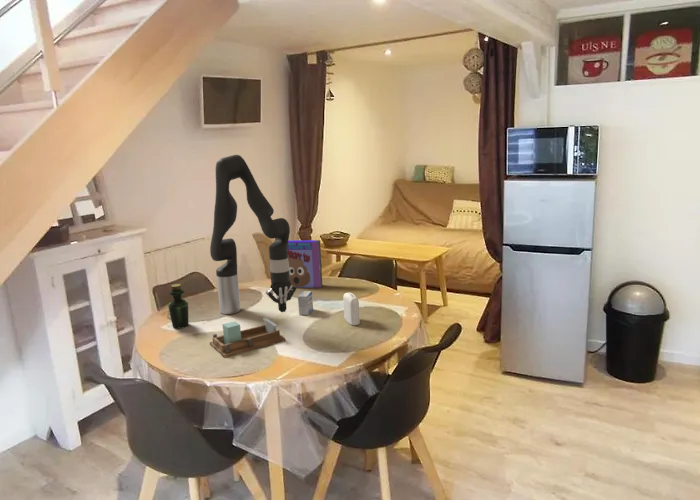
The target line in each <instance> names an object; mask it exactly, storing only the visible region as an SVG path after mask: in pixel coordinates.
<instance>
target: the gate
mask: <svg viewBox="0 0 700 500" xmlns="http://www.w3.org/2000/svg"><path fill="white" fill-rule="evenodd" d="M262 321H263V322H264V325H265V328H266V331H267V332H268V333H269V332H273V331H277V328H278V326H279V325H278V324H276V323H275V322H273V321H271V320H269V319H268V318H267V317H264V318H262Z"/></svg>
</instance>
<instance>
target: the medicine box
mask: <svg viewBox="0 0 700 500" xmlns="http://www.w3.org/2000/svg"><path fill="white" fill-rule="evenodd" d="M313 301H314V300H313V291H309V290H305V291H301V293H300V294H299V295H298V296H297V302H298V303H297V304H298V306H297V307H298V315H299V316H309V315H310V314H311V312H312V311H313V310H314V302H313Z"/></svg>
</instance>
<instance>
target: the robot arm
mask: <svg viewBox="0 0 700 500" xmlns="http://www.w3.org/2000/svg"><path fill="white" fill-rule="evenodd" d="M236 179H240V180H242V182H243V183H244V186H245V190H246V201H247V204H248V206H249V208H250V209H251V211H252V212H253V213H254V215H255V216H256V217H257V220H258V223H259V226H260V228H261V230H262V233H263V234H264V235H265V237H267V238H268V239H274V241H273V242H272V243H271V244H269V247H268V252H269V273H270V283H271V284H270V288H269V289H268V290H266V291H265V294H266V295H267V297H269V298H270V299H271V301H272V302H274V303H276V304H277V306H278V307H277V308H278V311H280V313H284V312H285V313H286V311H287V310H288V309H287V302H288V301H290V300H291V299H292V298H293V296H294V294H295V293H296V291H297V288H296V287H295V286H292V285H291V282H290V272H289V262H288V254H287V245H288V240H290V239H289V238H290V233H291V226H290V224H289V222H288V220H287V219H286V218H284V217H279V218H276V219H275V218H274V219H273V218H272V216H273V214H274V212H275V211H274V208H273V206H272V205H271V203H270V202H269V201H268V199H267V198H266V197H265V195H264V194H263V192H262V191H261V189H260V187H259V186H258V184H257V181H256V179H255V177H254V175H253V174H252V172H251V169H250V168H249V165H248V163H247V162H246V160H245V159H244V157H242V156H241V155H240V154H233V155H229V156H226V157H225V156H224V157H222V158H221V157H220V158H219V159H218V160H217V161H216V164H215V203H214V209H213V213H214V214H213V228H212V229H213V230H212V234H211V239H210V240H211V241H210V249H209V250H210V251H209V252H210V253H209V254H210V257H211V259H212V261H215V262H221V261H225V263H223V264H222V265H221V266H219V267H217V268H216V269H215V270H216V271H215V273H216V283H217V294H218V303H219V312H220V313H221V314H223V315H231V314H237V313H239V312H240V311H241V300H240V299H241V298H240V288H239V287H240V286H239V277H238V275H239V274H238V254H237V253H238V252H237V244H236V242H235V240H234V239H233V238H224V237H225V235H226V234H227V232H228V231H229V230H230V229H231V228H232V227H233V225H234V223H235V222H236V220H237V215H238V214H237V213H238V203H237V201H236V200H235V198H234V196H233V195H232V193H231V192H230V182H231V181H233V180H236ZM274 294H275V296H274Z"/></svg>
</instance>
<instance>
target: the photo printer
mask: <svg viewBox="0 0 700 500" xmlns="http://www.w3.org/2000/svg"><path fill="white" fill-rule="evenodd" d="M342 299H343V301H342V303H343V317H344V320H345V322H347V323H348V324H350V325H351V326H358V325H359V324H360V322H361V321H360V301H359V298H358V297H357V296H356V295H355V294H354V293H353V292H346V293H344V294H343V297H342Z"/></svg>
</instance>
